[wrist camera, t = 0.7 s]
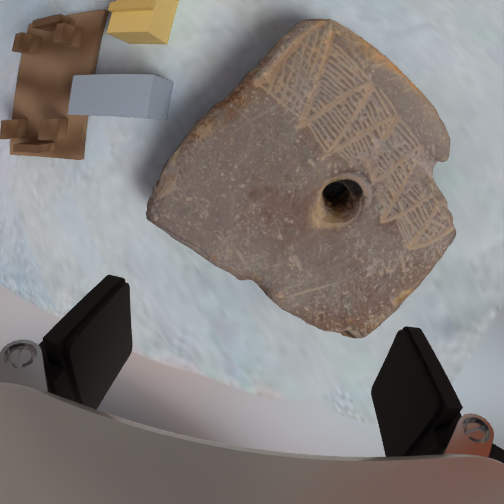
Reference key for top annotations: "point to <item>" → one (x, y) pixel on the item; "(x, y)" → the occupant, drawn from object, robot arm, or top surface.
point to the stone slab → (315, 181)
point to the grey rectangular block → (120, 95)
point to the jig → (52, 84)
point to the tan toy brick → (142, 20)
